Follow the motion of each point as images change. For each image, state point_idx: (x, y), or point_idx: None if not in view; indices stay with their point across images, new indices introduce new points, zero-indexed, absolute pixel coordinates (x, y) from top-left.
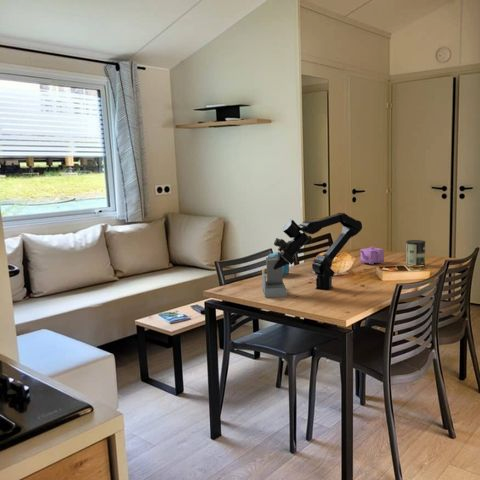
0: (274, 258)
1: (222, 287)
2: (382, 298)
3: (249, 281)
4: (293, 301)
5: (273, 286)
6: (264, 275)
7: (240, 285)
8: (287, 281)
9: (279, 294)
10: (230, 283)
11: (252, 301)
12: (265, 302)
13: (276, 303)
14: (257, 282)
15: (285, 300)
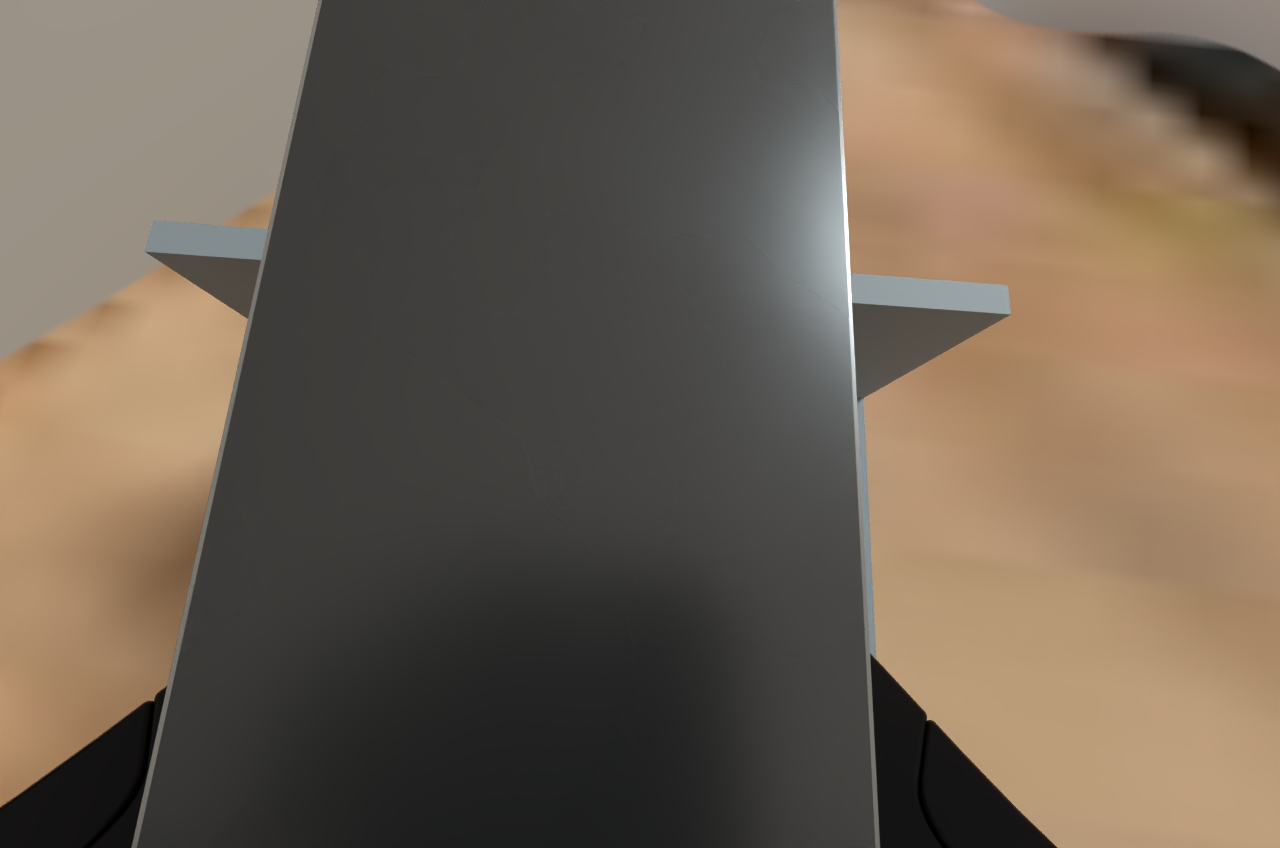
0: (229, 551)
1: (965, 6)
2: None
3: (1251, 307)
4: (13, 750)
5: None
6: (197, 228)
7: (1046, 186)
8: (1268, 843)
9: None
10: (1148, 98)
11: (239, 219)
12: (127, 357)
13: (13, 487)
14: (1199, 395)
15: (121, 636)
